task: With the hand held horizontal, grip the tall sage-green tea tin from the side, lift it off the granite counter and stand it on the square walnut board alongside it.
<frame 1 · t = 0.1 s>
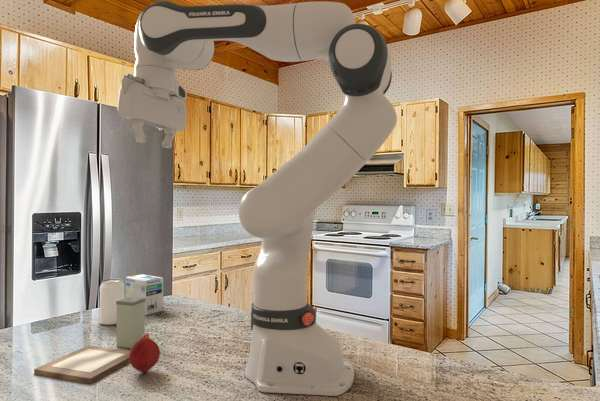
hand: (154, 145, 92), 48 cm above the countertop, tool pointing down, fingers open, 8 cm apart
light bulb box: (144, 311, 129), on the countertop
onion: (144, 373, 83), on the countertop
tea tin: (130, 344, 99), on the countertop
board: (89, 364, 87), on the countertop
can: (111, 322, 116), on the countertop
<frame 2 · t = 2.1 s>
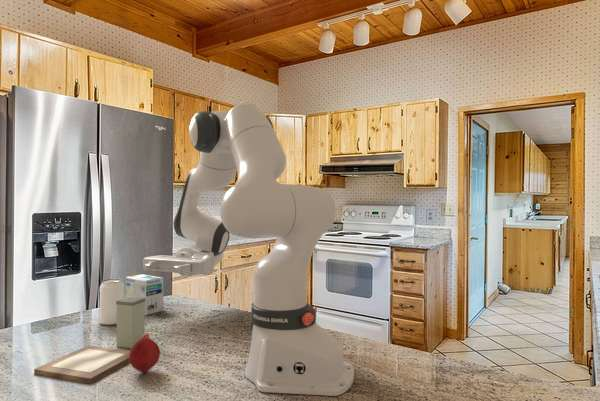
hand: (161, 268, 111), 16 cm above the countertop, tool horizontal, fingers open, 8 cm apart
nothing on the countertop moved.
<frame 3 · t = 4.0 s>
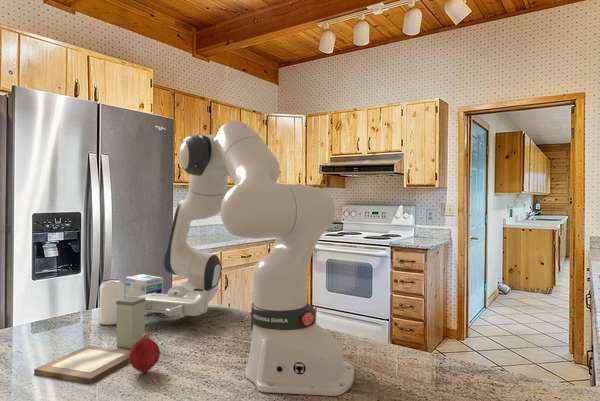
hand: (152, 311, 107), 6 cm above the countertop, tool horizontal, fingers open, 8 cm apart
nothing on the countertop moved.
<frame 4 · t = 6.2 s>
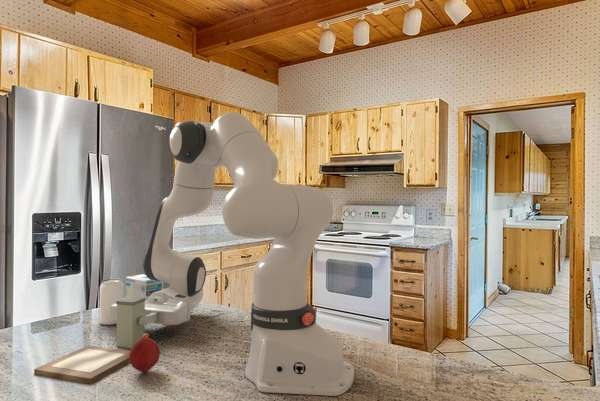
hand: (128, 320, 98), 6 cm above the countertop, tool horizontal, fingers closed on tea tin, 4 cm apart
tea tin: (130, 344, 99), on the countertop, touching gripper
everything else where it was.
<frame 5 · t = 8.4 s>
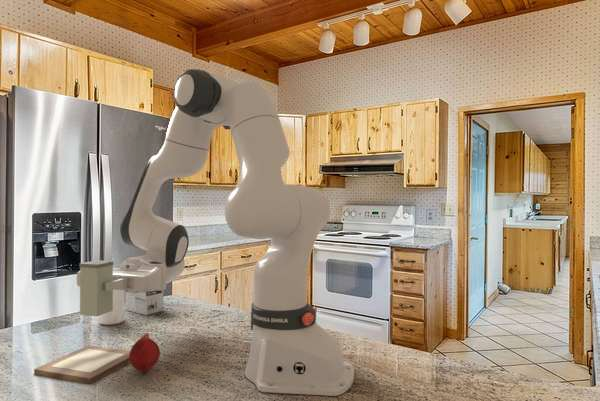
hand: (93, 285, 87), 17 cm above the countertop, tool horizontal, fingers closed on tea tin, 4 cm apart
tea tin: (96, 312, 88), point 11 cm above the countertop, touching gripper
everything else where it was.
when the fingers open (7 cm above the countertop, at t = 10.6 s): tea tin stays where it is, resting on board.
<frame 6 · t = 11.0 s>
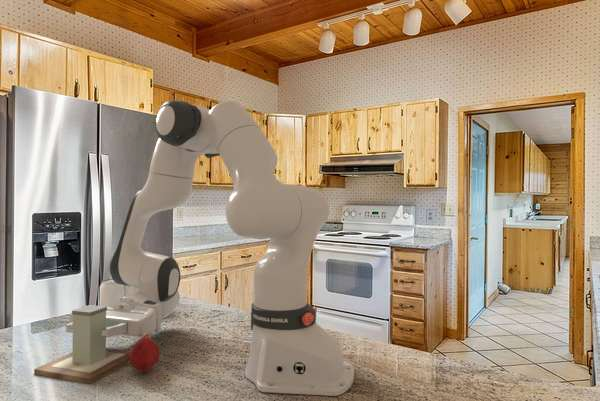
hand: (86, 331, 86), 7 cm above the countertop, tool horizontal, fingers open, 8 cm apart
tea tin: (89, 359, 87), point 1 cm above the countertop, touching board
everything else where it was.
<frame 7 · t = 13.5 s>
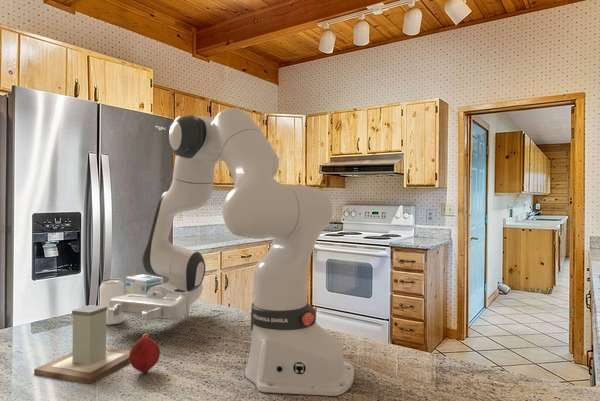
hand: (127, 314, 98), 8 cm above the countertop, tool horizontal, fingers open, 8 cm apart
nothing on the countertop moved.
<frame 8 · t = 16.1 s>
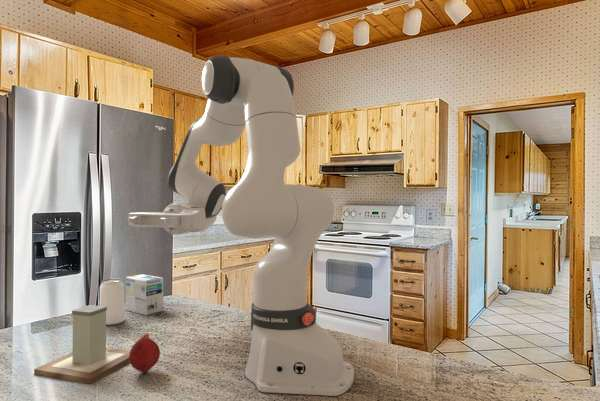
hand: (146, 221, 101), 30 cm above the countertop, tool horizontal, fingers open, 8 cm apart
nothing on the countertop moved.
at the end: tea tin inside the target area on the board (0.0 cm from its centre), point 1.1 cm above the board's base; tea tin tilted 0°; the gripper is holding nothing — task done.
